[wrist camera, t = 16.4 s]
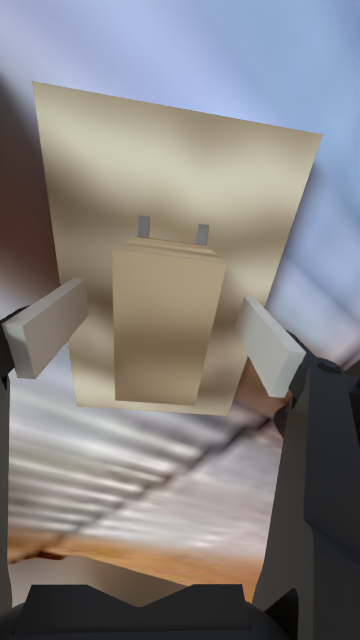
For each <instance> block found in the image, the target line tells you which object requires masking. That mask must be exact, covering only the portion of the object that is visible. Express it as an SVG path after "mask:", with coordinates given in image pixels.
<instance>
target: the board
mask: <svg viewBox="0 0 360 640" xmlns="http://www.w3.org/2000/svg"><path fill="white" fill-rule="evenodd" d="M32 85H33V92H34V99H35V107H36V114H37V121H38V128H39V135H40V143H41V150H42V157H43V164H44V172H45V179H46V186H47V193H48V200H49V208H50V215H51V222H52V229H53V236H54V244H55V251H56V258H57V265H58V272H59V280H60V286H61V285H63V284H65V283H66V282H68V281H69V280H71V279H72V278H74V277H76V278H84V279H86V287H87V300H88V312H89V315H88V317H87V318H86V319H85V320H84V321H83V323H82V324H81V325H80V326H79V327H78V329H77V330H76V331H75V332H74V333H73V335H72V336H71V337H70V338H69V339H68V345H69V352H70V359H71V366H72V373H73V381H74V388H75V395H76V402H77V406H82V407H98V408H113V409H129V410H144V411H160V412H175V413H190V414H206V415H221V416H228V413H229V410H230V407H231V405H232V402H233V399H234V396H235V393H236V390H237V387H238V384H239V381H240V378H241V375H242V372H243V369H244V366H245V363H246V360H247V357H248V354H247V352H246V350H245V349H244V347H243V345H242V343H241V341H240V339H239V337H238V335H237V333H236V331H235V327H236V323H237V320H238V316H239V313H240V309H241V305H242V302H243V298H244V297H253V298H255V299H256V300H257V301H258V302H259V303H260V304H261V305H262V306H263V307H265V304H266V301H267V298H268V295H269V292H270V289H271V286H272V283H273V280H274V277H275V274H276V271H277V268H278V266H279V263H280V260H281V257H282V254H283V251H284V248H285V245H286V242H287V239H288V236H289V233H290V230H291V227H292V224H293V221H294V218H295V215H296V212H297V209H298V206H299V203H300V200H301V198H302V195H303V192H304V189H305V186H306V183H307V180H308V177H309V174H310V171H311V168H312V165H313V162H314V159H315V156H316V153H317V150H318V147H319V144H320V141H321V138H322V134H317V133H311V132H306V131H301V130H295V129H290V128H284V127H279V126H273V125H268V124H262V123H257V122H252V121H246V120H241V119H235V118H230V117H224V116H219V115H213V114H208V113H202V112H197V111H192V110H186V109H181V108H175V107H170V106H164V105H159V104H153V103H148V102H142V101H137V100H132V99H126V98H121V97H115V96H110V95H104V94H99V93H93V92H88V91H82V90H77V89H72V88H66V87H61V86H55V85H50V84H44V83H39V82H33V81H32ZM135 236H137V237H145V238H152V239H160V240H168V241H175V242H183V243H190V244H198V245H206V246H208V247H209V248H210V249H211V250H212V251H213V252H214V253H215V254H216V255H217V256H218V257H219V258H220V259H221V260H222V261H223V262H224V263H225V264H226V270H225V274H224V278H223V283H222V287H221V292H220V296H219V301H218V305H217V309H216V314H215V318H214V323H213V327H212V331H211V336H210V340H209V345H208V349H207V354H206V358H205V362H204V367H203V371H202V376H201V380H200V385H199V389H198V393H197V398H196V402H195V406H188V405H173V404H159V403H144V402H129V401H115V370H114V319H113V269H112V250H113V249H115V248H117V247H118V246H120V245H122V244H123V243H125V242H127V241H128V240H130V239H132V238H133V237H135Z"/></svg>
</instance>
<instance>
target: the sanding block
mask: <svg viewBox="0 0 360 640" xmlns="http://www.w3.org/2000/svg"><path fill="white" fill-rule="evenodd" d="M112 269H113V319H114V370H115V401H129V402H144V403H159V404H173V405H188V406H195V402H196V398H197V393H198V389H199V385H200V380H201V376H202V371H203V367H204V362H205V358H206V354H207V349H208V345H209V340H210V336H211V331H212V327H213V323H214V318H215V314H216V309H217V305H218V301H219V296H220V292H221V287H222V283H223V278H224V274H225V270H226V264H225V263H224V262H223V261H222V260H221V259H220V258H219V257H218V256H217V255H216V254H215V253H214V252H213V251H212V250H211V249H210V248H209V247H208V246H206V245H198V244H190V243H183V242H175V241H168V240H160V239H152V238H145V237H137V236H135V237H133V238H132V239H130V240H128V241H127V242H125V243H123V244H122V245H120V246H118V247H117V248H115V249H113V250H112Z"/></svg>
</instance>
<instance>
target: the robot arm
mask: <svg viewBox="0 0 360 640" xmlns="http://www.w3.org/2000/svg"><path fill="white" fill-rule="evenodd" d="M88 315H89V312H88V300H87V287H86V279H84V278H76V277H74V278H72V279H71V280H69V281H68V282H66V283H65V284H63V285H61V286H60V287H58V288H57V289H55V290H54V291H52V292H51V293H49V294H48V295H46V296H44V297H43V298H41V299H40V300H38V301H37V302H35V303H34V304H32V305H29V306H26V307H23V308H20V309H18V310H16V311H15V312H13V313H12V314H10V315H8V316H7V317H6V318H3V319H2V320H0V640H360V378H356V377H352V376H349V375H345V373H344V371H343V369H342V368H340V367H339V366H338V365H337V364H335V363H333V362H331V361H329V360H327V359H323V358H318V357H315V356H314V355H313V354H312V352H311V351H310V350H309V349H308V348H307V347H306V346H304V344H303V343H302V342H300V340H299V339H298V338H297V337H296V336H295V335H293V334H292V333H290V332H288V331H285V330H284V328H283V327H282V326H281V325H280V324H279V323H278V322H277V321H276V320H275V319H274V318H273V317H272V316H271V315H270V314H269V313H268V312H267V311H266V310H265V308H264V307H263V306H262V305H261V304H260V303H259V302H258V301H257V300H256V299H255V298H253V297H244V298H243V302H242V305H241V309H240V313H239V316H238V320H237V323H236V327H235V331H236V333H237V335H238V337H239V339H240V341H241V343H242V345H243V347H244V349H245V350H246V352H247V354H248V356H249V358H250V360H251V362H252V364H253V366H254V368H255V370H256V372H257V374H258V375H259V377H260V379H261V381H262V383H263V385H264V387H265V389H266V391H267V393H268V395H269V396H270V397H283V398H284V397H285V395H286V393H287V391H288V389H290V391H291V392H292V394H293V396H292V398H291V400H290V402H289V404H288V406H287V408H286V410H285V413H287V412H288V416H287V422H286V428H285V435H284V441H283V447H282V453H281V460H280V466H279V472H278V478H277V484H276V491H275V497H274V503H273V509H272V516H271V522H270V528H269V534H268V540H267V547H266V553H265V559H264V564H263V568H262V571H261V574H260V577H259V579H258V582H257V585H256V589H255V592H254V596H253V601H252V604H251V603H250V602H247V601H245V598H244V592H243V587H242V584H193V585H191V586H189V587H187V588H184V589H182V590H180V591H178V592H175V593H173V594H171V595H169V596H166V597H164V598H162V599H159V600H157V601H155V602H153V603H151V604H148V605H146V606H143V607H134V606H132V605H130V604H128V603H126V602H124V601H121V600H119V599H117V598H115V597H113V596H110V595H108V594H106V593H104V592H101V591H99V590H97V589H95V588H93V587H90V586H88V585H32V586H31V588H30V591H29V593H28V596H27V599H26V601H25V602H24V603H21V604H19V605H17V606H15V607H13V608H12V591H11V584H10V578H9V573H8V565H7V534H8V471H9V408H10V380H9V377H8V373H9V372H10V371H11V370H12V369H14V368H15V371H16V374H17V378H25V379H36V378H37V377H38V376H39V374H40V373H41V372H42V371H43V370H44V368H45V367H46V366H47V365H48V364H49V362H50V361H51V360H52V359H53V358H54V356H55V355H56V354H57V353H58V351H59V350H60V349H61V348H62V347H63V345H64V344H65V343H66V342H67V341H68V339H69V338H70V337H71V336H72V335H73V333H74V332H75V331H76V330H77V329H78V327H79V326H80V325H81V324H82V323H83V321H84V320H85V319H86V318H87V317H88Z"/></svg>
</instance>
